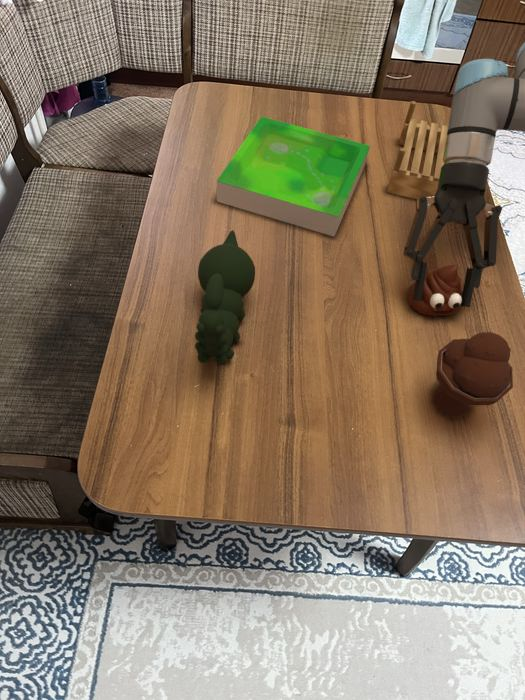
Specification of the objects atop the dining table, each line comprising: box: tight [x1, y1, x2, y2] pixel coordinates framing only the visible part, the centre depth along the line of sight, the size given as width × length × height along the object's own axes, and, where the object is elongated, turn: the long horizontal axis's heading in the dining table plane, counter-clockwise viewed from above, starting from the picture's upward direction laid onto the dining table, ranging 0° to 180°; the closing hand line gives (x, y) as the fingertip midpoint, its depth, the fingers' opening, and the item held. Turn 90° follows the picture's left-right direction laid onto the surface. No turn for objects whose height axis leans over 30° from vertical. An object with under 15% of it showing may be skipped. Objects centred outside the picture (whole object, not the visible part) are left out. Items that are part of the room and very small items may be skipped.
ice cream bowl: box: [434, 331, 514, 418], centre depth 78 cm, size 11×11×15 cm
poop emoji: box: [407, 263, 463, 317], centre depth 92 cm, size 10×8×9 cm
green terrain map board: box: [216, 116, 371, 238], centre depth 111 cm, size 25×25×5 cm
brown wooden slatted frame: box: [386, 100, 448, 200], centre depth 114 cm, size 13×20×10 cm, turn 164°
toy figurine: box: [194, 230, 256, 366], centre depth 83 cm, size 9×19×25 cm
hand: (440, 303), depth 91 cm, fingers closed on poop emoji, 8 cm apart
